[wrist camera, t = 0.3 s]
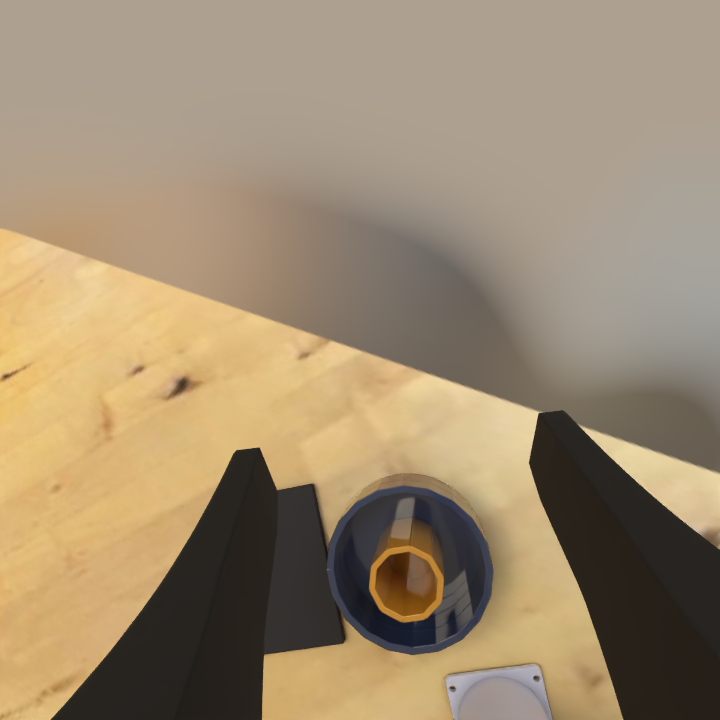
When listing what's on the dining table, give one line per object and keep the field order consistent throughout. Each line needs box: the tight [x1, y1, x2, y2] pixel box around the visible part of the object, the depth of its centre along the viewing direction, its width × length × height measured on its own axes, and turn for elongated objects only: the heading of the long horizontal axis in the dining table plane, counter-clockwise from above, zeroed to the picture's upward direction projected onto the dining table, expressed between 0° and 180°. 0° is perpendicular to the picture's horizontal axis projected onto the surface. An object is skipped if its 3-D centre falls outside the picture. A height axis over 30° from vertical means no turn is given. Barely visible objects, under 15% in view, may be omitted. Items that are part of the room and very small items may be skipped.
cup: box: [369, 517, 444, 623], centre depth 37 cm, size 5×6×7 cm
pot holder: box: [264, 484, 345, 654], centre depth 42 cm, size 14×10×1 cm
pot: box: [327, 474, 493, 655], centre depth 38 cm, size 13×13×5 cm
